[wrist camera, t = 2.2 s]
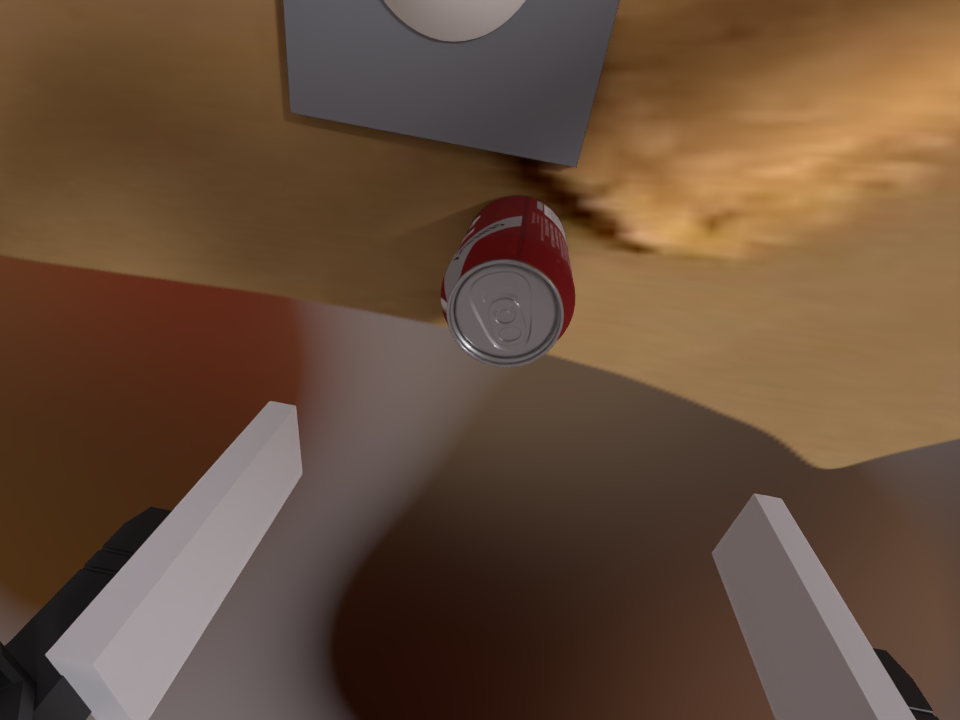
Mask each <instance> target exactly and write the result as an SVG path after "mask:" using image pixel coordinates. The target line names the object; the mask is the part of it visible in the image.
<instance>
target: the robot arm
mask: <svg viewBox="0 0 960 720" xmlns="http://www.w3.org/2000/svg"><path fill="white" fill-rule="evenodd" d="M302 474H303V473H302V463H301V454H300V443H299V432H298V421H297V411H296V406H295V405H289V404H284V403H279V402H274V401H269V402H268V403H267V405H266V406H265V407H264V408H263V409H262V410H261V411H260V412H259V414H258V415H257V416H256V417H255V418H254V419H253V420H252V421H251V423H250V424H249V425H248V426H247V427H246V428H245V429H244V431H243V432H242V433H241V434H240V435H239V436H238V437H237V438H236V440H235V441H234V442H233V443H232V444H231V445H230V446H229V447H228V449H227V450H226V451H225V452H224V453H223V454H222V456H221V457H220V458H219V459H218V460H217V461H216V462H215V463H214V464H213V466H212V467H211V468H210V469H209V470H208V471H207V472H206V474H205V475H204V476H203V477H202V478H201V479H200V480H199V481H198V483H197V484H196V485H195V486H194V487H193V488H192V489H191V491H190V492H189V493H188V494H187V495H186V496H185V497H184V498H183V500H182V501H181V502H180V503H179V504H178V505H177V506H176V507H175V508H174V510H173V511H169V510H164V509H159V508H154V507H150V508H149V509H147V510H145V511H144V512H142V513H141V514H139V515H138V516H136V517H134V518H133V519H131V520H130V521H128V522H126V523H125V524H124V525H123V526H122V527H121V528H120V529H119V530H118V531H117V532H116V533H115V534H114V535H113V536H112V537H111V538H110V539H109V540H108V541H107V542H106V543H105V544H104V545H103V548H102V550H100V551H97V552H96V553H95V554H94V555H93V556H92V558H91V559H90V560H89V561H88V562H87V563H86V564H85V566H84V568H83V569H80V570H79V571H78V572H77V573H76V574H75V575H74V576H73V577H72V578H71V579H70V580H69V581H68V582H67V583H66V585H64V586H63V587H62V588H61V590H59V592H57V594H56V595H55V596H54V597H53V598H52V599H51V600H50V601H49V602H48V603H47V604H46V605H45V606H44V607H43V608H42V609H41V610H40V611H39V612H38V613H37V614H36V615H35V616H34V617H33V618H32V619H31V620H30V621H29V622H28V623H27V624H26V625H25V626H24V628H23V629H22V630H21V631H20V632H19V633H18V634H17V635H16V636H15V637H14V638H13V639H12V640H11V641H10V642H9V643H8V644H6V645H5V646H4V645H3V644H2V643H1V642H0V720H86V718H87V717H88V716H89V714H90V713H91V714H92V715H93V716H94V718H95V719H96V720H148V719H149V718H150V716H151V715H152V713H153V711H154V710H155V708H156V707H157V705H158V703H159V702H160V700H161V699H162V697H163V696H164V694H165V692H166V691H167V689H168V687H169V686H170V684H171V683H172V681H173V680H174V678H175V676H176V675H177V673H178V672H179V670H180V668H181V667H182V665H183V663H184V662H185V660H186V659H187V657H188V656H189V654H190V652H191V651H192V649H193V648H194V646H195V644H196V643H197V641H198V640H199V638H200V636H201V635H202V633H203V632H204V630H205V628H206V627H207V625H208V624H209V622H210V621H211V619H212V617H213V616H214V614H215V612H216V611H217V609H218V608H219V606H220V605H221V603H222V601H223V600H224V598H225V596H226V595H227V593H228V592H229V590H230V589H231V587H232V585H233V584H234V582H235V581H236V579H237V577H238V575H239V574H240V572H241V571H242V569H243V568H244V566H245V565H246V563H247V561H248V560H249V558H250V556H251V555H252V553H253V552H254V550H255V549H256V547H257V545H258V544H259V542H260V540H261V539H262V537H263V536H264V534H265V533H266V531H267V529H268V528H269V526H270V525H271V523H272V521H273V520H274V518H275V517H276V515H277V514H278V512H279V510H280V509H281V507H282V505H283V504H284V502H285V501H286V499H287V498H288V496H289V494H290V493H291V491H292V490H293V488H294V486H295V485H296V483H297V481H298V480H299V478H300V476H301V475H302ZM712 555H713V558H714V560H715V563H716V566H717V568H718V571H719V573H720V576H721V579H722V581H723V584H724V586H725V589H726V591H727V594H728V597H729V599H730V602H731V604H732V607H733V610H734V612H735V615H736V618H737V620H738V623H739V625H740V628H741V630H742V633H743V636H744V639H745V641H746V644H747V646H748V649H749V651H750V654H751V657H752V659H753V662H754V665H755V667H756V670H757V672H758V675H759V678H760V680H761V683H762V685H763V688H764V690H765V693H766V696H767V698H768V701H769V704H770V706H771V709H772V711H773V714H774V717H775V719H776V720H939V719H938V718H937V717H935V716H934V715H933V713H932V711H933V710H932V708H931V707H930V705H929V704H928V702H927V701H926V699H925V697H924V696H923V694H922V693H921V691H920V690H919V688H918V687H917V685H916V683H915V682H914V681H913V679H912V678H911V677H910V676H909V675H908V674H907V673H906V671H905V670H904V669H903V668H902V667H901V666H900V665H899V664H898V663H897V662H896V661H895V660H894V659H893V657H891V655H890V654H889V653H888V652H887V651H885V650H880V649H875V648H872V647H871V645H870V643H869V642H868V640H867V638H866V637H865V635H864V634H863V632H862V630H861V629H860V627H859V625H858V624H857V622H856V620H855V619H854V617H853V616H852V614H851V612H850V611H849V609H848V607H847V606H846V604H845V603H844V601H843V599H842V597H841V596H840V594H839V593H838V591H837V589H836V588H835V586H834V584H833V583H832V581H831V580H830V578H829V576H828V574H827V573H826V571H825V570H824V568H823V566H822V565H821V563H820V561H819V560H818V558H817V557H816V555H815V553H814V552H813V550H812V548H811V547H810V545H809V544H808V542H807V540H806V538H805V537H804V535H803V534H802V532H801V530H800V529H799V527H798V525H797V524H796V522H795V520H794V519H793V517H792V515H791V514H790V512H789V511H788V509H787V507H786V506H785V504H784V502H783V501H782V499H780V498H774V497H770V496H764V495H759V494H753V496H752V497H751V498H750V500H749V502H748V503H747V504H746V506H745V507H744V508H743V510H742V511H741V513H740V514H739V515H738V517H737V518H736V520H735V521H734V522H733V524H732V526H731V527H730V528H729V530H728V531H727V532H726V534H725V535H724V537H723V538H722V540H721V541H720V542H719V544H718V545H717V547H716V548H715V550H714V551H713V552H712Z"/></svg>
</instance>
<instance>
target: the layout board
mask: <svg viewBox="0 0 960 720" xmlns="http://www.w3.org/2000/svg"><path fill="white" fill-rule="evenodd" d="M619 1H620V0H283V4H284V19H285V35H286V50H287V66H288V81H289V97H290V112H291V113H295V114H300V115H306V116H311V117H316V118H321V119H326V120H332V121H337V122H342V123H347V124H352V125H358V126H363V127H368V128H373V129H378V130H384V131H389V132H394V133H399V134H405V135H410V136H415V137H420V138H425V139H431V140H436V141H441V142H446V143H451V144H457V145H462V146H467V147H472V148H477V149H483V150H488V151H493V152H498V153H504V154H509V155H514V156H519V157H524V158H530V159H535V160H540V161H545V162H550V163H556V164H561V165H566V166H571V167H576V168H577V164H578V160H579V156H580V152H581V148H582V144H583V140H584V137H585V133H586V129H587V125H588V121H589V117H590V113H591V109H592V106H593V102H594V98H595V94H596V90H597V86H598V82H599V78H600V75H601V71H602V67H603V63H604V59H605V55H606V51H607V47H608V44H609V40H610V36H611V32H612V28H613V24H614V20H615V16H616V13H617V9H618V5H619Z"/></svg>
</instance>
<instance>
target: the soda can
mask: <svg viewBox="0 0 960 720" xmlns="http://www.w3.org/2000/svg"><path fill="white" fill-rule="evenodd" d="M441 305H442V310H443V314H444V317H445V319H446V321H447V323H448V326H449V329H450V332H451V334H452V336H453V338H454V340H455V341H456V342H457V344H458V345H459V346H460V347H461V348H462V350H464V351H465V352H466V353H467V354H468V355H470V356H471V357H473V358H474V359H476V360H478V361H480V362H482V363H485V364H488V365H492V366H497V367H517V366H522V365H525V364H528V363H531V362H533V361H535V360H537V359H538V358H540V357H542V356H543V355H544V354H546V353H547V352H548V351H549V350H550V349H551V348H552V347H553V345H554V344H555V343H556V341H557V340H558V339H559V338H560V337H561V336H562V335H563V333H564V332H565V330H566V329H567V327H568V325H569V323H570V321H571V319H572V316H573V312H574V307H575V288H574V283H573V277H572V271H571V266H570V260H569V254H568V249H567V243H566V237H565V232H564V229H563V226H562V224H561V222H560V220H559V218H558V217H557V215H556V214H555V213H554V212H553V210H552V209H551V208H549V207H548V206H547V205H546V204H544V203H543V202H541V201H539V200H537V199H535V198H532V197H528V196H522V195H512V196H506V197H502V198H499V199H497V200H495V201H493V202H491V203H489V204H488V205H487V206H485V207H484V208H483V209H482V210H481V211H480V212H479V213H478V215H477V216H476V217H475V219H474V220H473V222H472V224H471V226H470V228H469V230H468V232H467V233H466V235H465V237H464V239H463V241H462V243H461V245H460V246H459V248H458V250H457V252H456V254H455V256H454V257H453V259H452V261H451V263H450V265H449V267H448V269H447V271H446V273H445V276H444V278H443V282H442V287H441Z"/></svg>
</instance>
